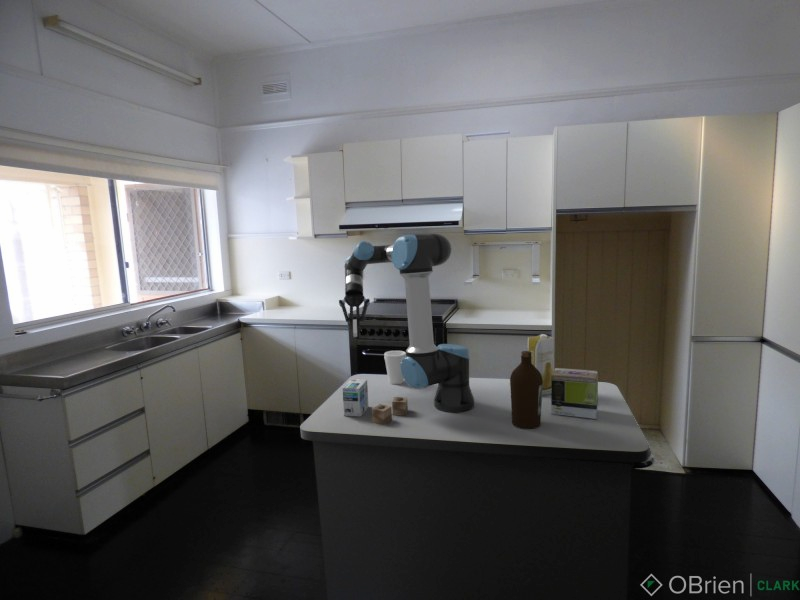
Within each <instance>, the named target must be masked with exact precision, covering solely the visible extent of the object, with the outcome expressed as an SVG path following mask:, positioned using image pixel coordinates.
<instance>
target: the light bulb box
mask: <svg viewBox="0 0 800 600" xmlns="http://www.w3.org/2000/svg"><path fill="white" fill-rule="evenodd" d="M341 389H342V403H343V416H347V417H360V418H361V417H362V416H363V415H364V413H365V412H366V411H367V409H368V408H369V391H368V379H357V378H356V379H354V378H351V379H350V380H349V381H348V382H347V383H346V384H345V385H344V386H343V387H342V388H341Z"/></svg>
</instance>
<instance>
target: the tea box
mask: <svg viewBox="0 0 800 600" xmlns="http://www.w3.org/2000/svg"><path fill="white" fill-rule="evenodd" d="M550 395H551V397H550V398H551V399H550V400H551V401H550V402H551V403H550V404H551V405H550V406H551V410H550V411H551V415H559V416H565V417H566V416H567V417H568V416H569V417H576V418H585V419H593V420H597V415H598V414H597V413H598V408H599V405H598V402H599V371H598V370H594V369H593V370H590V369H589V370H588V369H580V368H579V369H578V368H577V369H575V368H563V367H562V368H561V367H554V368H553V373H552V375H551V393H550Z"/></svg>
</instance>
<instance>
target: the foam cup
mask: <svg viewBox="0 0 800 600" xmlns="http://www.w3.org/2000/svg"><path fill="white" fill-rule="evenodd" d="M383 356H384V357H383V358H384V362H385V368H386V374H387V380H388V383H389V384H390V383H391V385H400V384H401V385H402V384H404V381H405V380H404V378H403V375H402V372H401V362H402V359H403V358H405V357H406V351H403V350H389V351H385V352H384V354H383Z"/></svg>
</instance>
